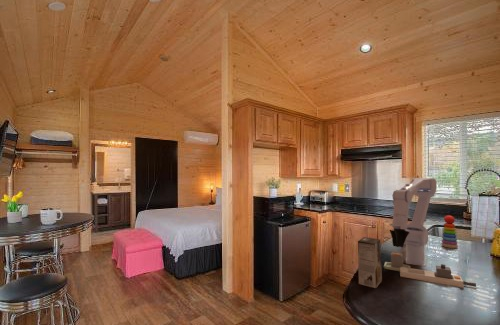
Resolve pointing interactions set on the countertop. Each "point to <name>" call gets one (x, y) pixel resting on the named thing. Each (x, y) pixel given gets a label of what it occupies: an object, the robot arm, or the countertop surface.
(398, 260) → the plug
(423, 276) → the power strip
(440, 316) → the countertop surface
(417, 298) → the countertop surface
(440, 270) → the seated twin plug
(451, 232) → the stacking toy
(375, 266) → the coffee box
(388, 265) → the tray
